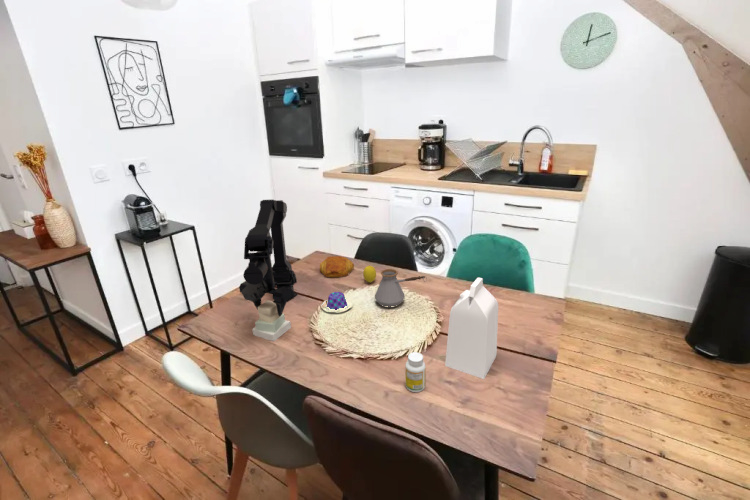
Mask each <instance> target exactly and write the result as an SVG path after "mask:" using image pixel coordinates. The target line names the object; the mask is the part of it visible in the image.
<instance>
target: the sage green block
mask: <svg viewBox="0 0 750 500" xmlns="http://www.w3.org/2000/svg"><path fill="white" fill-rule="evenodd" d="M285 320H286V316H285V314H284V313H282V315H281V316H280V317H279V318H278V319H276V320H275V321H274V322H272V323H269V322H265V321H261V320H260V319H259V318H258V319H257V320H256V321H255V327H256V330H259V331H266V332H274V333H275V332H276V331H277V330H278V329H279V328H280V327H281V326H282V325H283V323H284V322H285Z"/></svg>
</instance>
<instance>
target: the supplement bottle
mask: <svg viewBox="0 0 750 500" xmlns="http://www.w3.org/2000/svg"><path fill="white" fill-rule="evenodd" d="M407 356H408V357H407V361H406V362H405V374H404V375H405V376H404V377H405V387H406V389H407V390H409V392H413V393H420V392H422V391H423V390H425V387H426V369H427V368H426V363H425V361H424V355H423V354H422V353H420V352H416V351H413V352H410V353H409V354H408V355H407Z"/></svg>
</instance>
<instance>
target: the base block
mask: <svg viewBox="0 0 750 500" xmlns="http://www.w3.org/2000/svg"><path fill="white" fill-rule="evenodd" d="M291 328H292V323H291V321H290V320H286V319H285V322H284V323H283V325H282V326H281V327H280V328H279V329H278V330H277V331H276V332H275V333H274V332H266V331H259V330H256V326H254V327H253V328H251V330H252V334H253V335H252V336H255V337H258V338H261V339H264V340H267V341H272V342H276V341H277V340H278V339H279V338H280V337H281V336H283V335H284V334H285V333H286V332H288V331H289V330H290V329H291Z"/></svg>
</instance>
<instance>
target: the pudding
mask: <svg viewBox="0 0 750 500" xmlns="http://www.w3.org/2000/svg"><path fill="white" fill-rule="evenodd" d="M345 298H346V297H345V294H344V292H341V291H333V292H331V293H330V294H328V297H327V300H325V301H324V302H323V303H322V304H321V306H322V305H323V304H324V303H325V302H326V301H328V302H327V306H326V307H329V308H330V309H335V310H337V309H339V308H344V307H345V306H347V305H348V304H347V302H346V299H347V298H346V299H345Z"/></svg>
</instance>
